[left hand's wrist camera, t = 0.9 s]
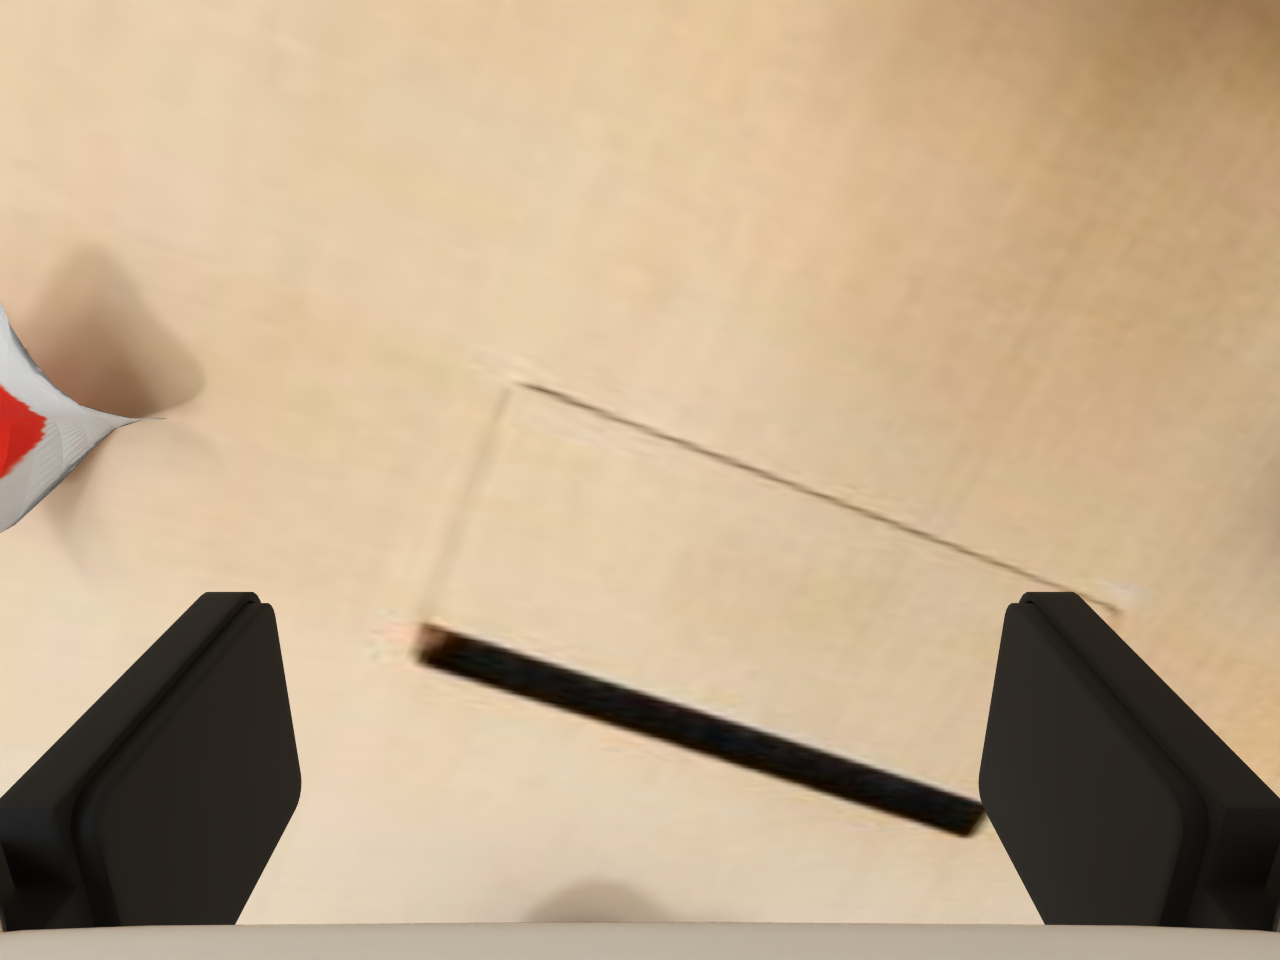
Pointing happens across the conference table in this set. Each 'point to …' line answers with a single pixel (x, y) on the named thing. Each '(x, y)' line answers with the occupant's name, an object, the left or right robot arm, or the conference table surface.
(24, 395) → the fish
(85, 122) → the conference table surface
